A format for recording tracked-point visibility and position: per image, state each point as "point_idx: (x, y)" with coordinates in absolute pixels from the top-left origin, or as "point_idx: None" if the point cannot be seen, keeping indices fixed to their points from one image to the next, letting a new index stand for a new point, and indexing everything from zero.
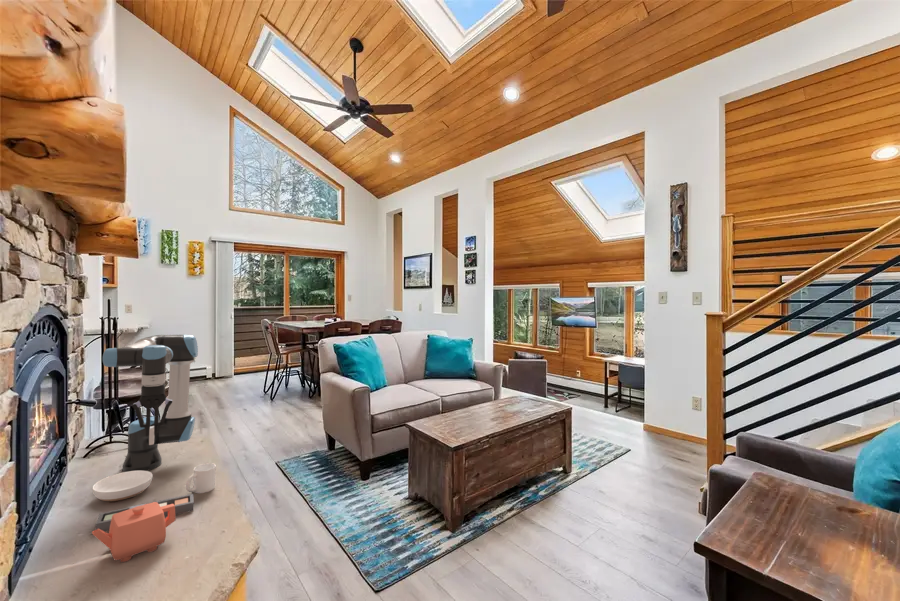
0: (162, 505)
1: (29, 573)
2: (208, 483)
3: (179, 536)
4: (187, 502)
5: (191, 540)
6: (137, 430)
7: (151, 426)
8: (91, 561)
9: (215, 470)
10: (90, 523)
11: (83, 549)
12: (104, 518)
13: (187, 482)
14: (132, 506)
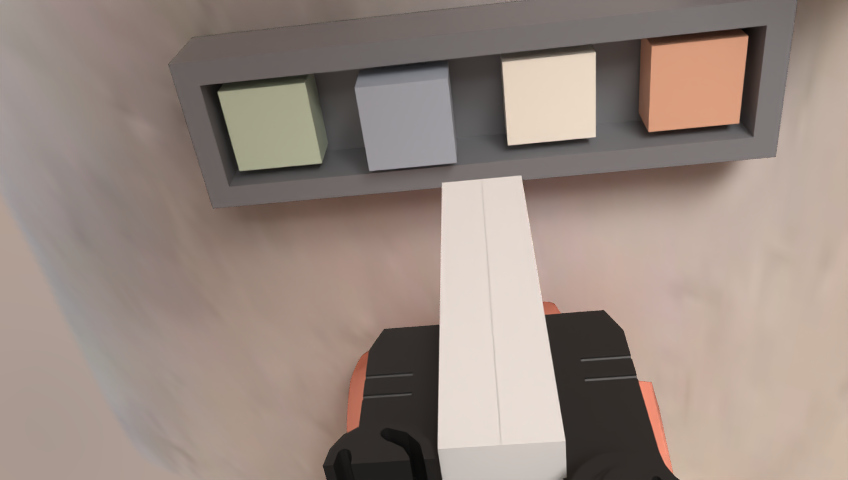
0: (568, 94)
1: (103, 373)
2: None
3: (658, 343)
4: (736, 141)
5: (708, 392)
6: None
7: (479, 459)
8: (314, 384)
9: None
10: (127, 4)
11: (235, 284)
12: (230, 134)
13: None
14: (372, 94)
